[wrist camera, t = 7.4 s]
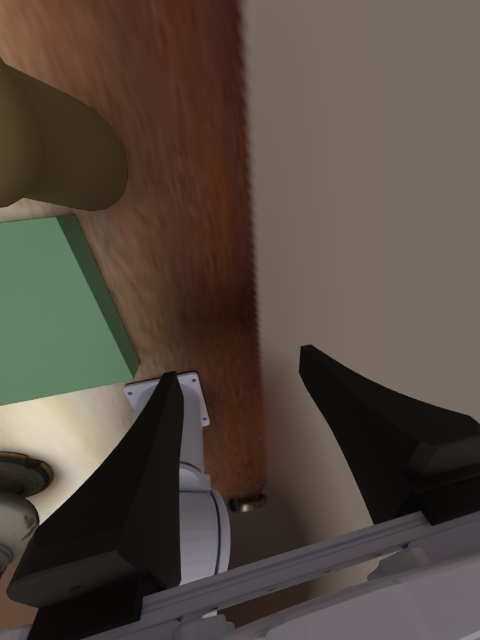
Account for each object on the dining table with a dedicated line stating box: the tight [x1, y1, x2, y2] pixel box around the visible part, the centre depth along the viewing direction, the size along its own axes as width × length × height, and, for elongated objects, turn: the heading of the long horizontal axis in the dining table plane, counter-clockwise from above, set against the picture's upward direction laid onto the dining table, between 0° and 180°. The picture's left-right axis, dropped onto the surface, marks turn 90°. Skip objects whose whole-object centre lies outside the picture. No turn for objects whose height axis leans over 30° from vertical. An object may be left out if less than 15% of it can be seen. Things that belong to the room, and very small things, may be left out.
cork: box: [0, 57, 128, 211], centre depth 9 cm, size 6×6×11 cm
